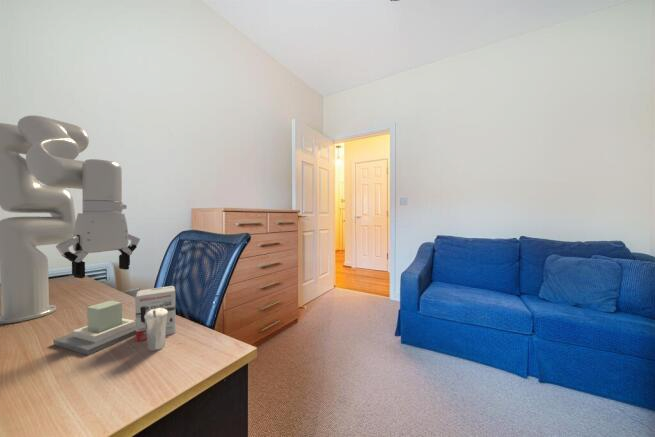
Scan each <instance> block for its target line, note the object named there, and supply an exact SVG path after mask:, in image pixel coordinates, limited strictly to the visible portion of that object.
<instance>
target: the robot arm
mask: <svg viewBox="0 0 655 437" xmlns="http://www.w3.org/2000/svg"><path fill="white" fill-rule="evenodd" d="M89 143H90V142H89V136H88V133H87V131H85V130H84V129H83V128H82V127H80V126H78V125H76V124H72V123H68V122H65V121H60V120H59V119H58V120H57V119H53V118H50V117H46V116H42V115H25V116H22V117H21V118H20V119H19V120H18V122H17V125H16V124H11V123H4V122H0V208H1V209H2V210H3V211H5V212H8V213H15V214H16V213H18V214H49V215H50V216H13V217H7V218H6V217H5V218H2V219H1V220H0V312H1V313H0V325H4V324H13V323H19V322H24V321H29V320H34V319H38V318H40V317H44V316H47V315H49V314H52V313H53V312H55V311H56V310H57V306H56V305H55V304H50V296H49V293H50V290H49V289H50V288H49V260H48V256H46V254H45V253H44V252H42V251H41V250H40V249H38V248H37V247H39V246H47V245H49V246H50V245H56V246H55V248H56V250H57V251H58V252H59V253H60V255H61V257H63V258H65V259H67V260H68V261H69V262H71V275H73V277H74V278H77V279H84V278H85V277H86V262H85V261H83V260H84V259H85V258H86V257H87V255H89V254H95V253H103V252H104V253H105V252H110V251H111V252H112V251H118V252H119V253H121V254H118V268H119V269H121V270H129V269H130V265H131V255H133V252H134V250H136V249H137V247H138V244H139V243H140V238H139V237H137V236H135V235H132V234H129V228H128V223H127V222H128V221H127V218H126V216H125V215H126V214H125V213H122V212H123V210H126V209H127V208H128V207H127V204H123V202H122V201H123V200H122V199H123V198H122V194H123V193H122V192H123V191H122V188H123V187H122V184H123V183H122V181H123V180H122V170H123V169H122V167H121V165H120V164H119V163H117V162H115V161H113V160H112V161H111V160H107V159H97V158H95V159H94V158H93V159H86V160H78V159H77V157H79V154H80V153H83V152H84V151H85V150H86V149H87V148H88V147H89ZM20 154H21V155H25V157H23V156H21V155H20ZM68 189H75V190H76V189H77V190H78V189H79V190H82V192H81V193H82V213H81V212H79V213H78V212H77V216H76V213H75V206H74V199H73V196H72V195H71V193H70V191H69V190H68ZM129 241H130V244H129ZM70 247H72V250H73V252H74V253H73V252H72V251H70V249H69V248H70Z"/></svg>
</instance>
